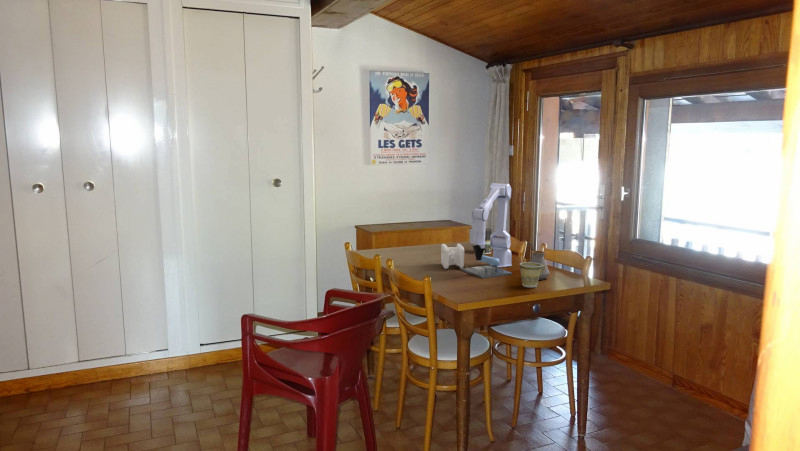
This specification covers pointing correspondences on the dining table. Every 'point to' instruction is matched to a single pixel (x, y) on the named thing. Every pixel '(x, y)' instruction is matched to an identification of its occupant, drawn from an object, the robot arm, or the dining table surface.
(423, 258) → the dining table surface
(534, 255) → the coffee pot
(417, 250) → the dining table surface
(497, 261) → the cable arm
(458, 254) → the cable organizer
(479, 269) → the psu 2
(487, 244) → the coffee can
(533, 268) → the ceramic cup
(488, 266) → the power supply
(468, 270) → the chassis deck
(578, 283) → the dining table surface
